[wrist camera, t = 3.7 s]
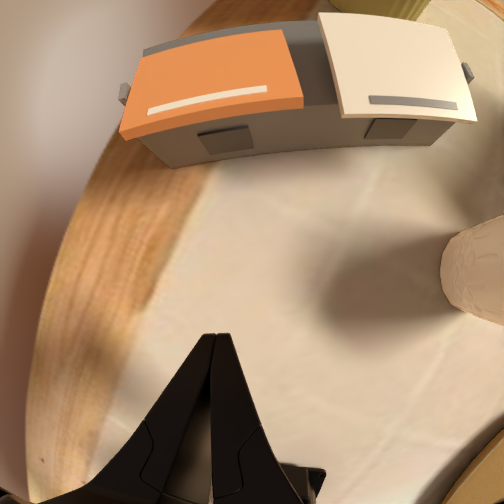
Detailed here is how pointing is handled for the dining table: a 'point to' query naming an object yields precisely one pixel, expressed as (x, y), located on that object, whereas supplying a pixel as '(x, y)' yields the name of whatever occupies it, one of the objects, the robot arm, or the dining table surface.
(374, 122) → the rocker switch box
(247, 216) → the dining table surface
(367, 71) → the white rocker
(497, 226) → the white cup
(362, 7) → the potted cactus
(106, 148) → the dining table surface
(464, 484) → the plant saucer
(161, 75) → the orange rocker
